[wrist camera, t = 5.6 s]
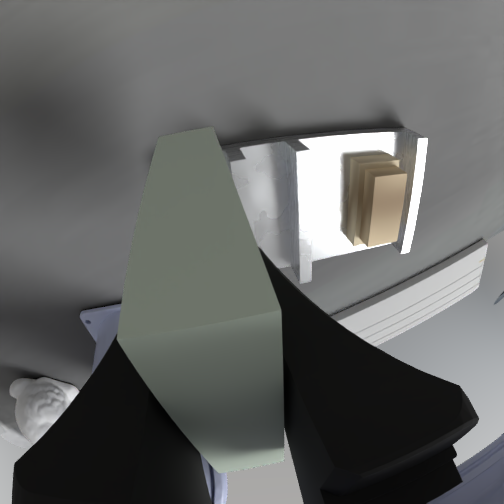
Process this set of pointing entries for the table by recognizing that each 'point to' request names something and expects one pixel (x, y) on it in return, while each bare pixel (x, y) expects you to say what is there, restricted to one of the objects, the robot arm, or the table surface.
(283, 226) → the rack
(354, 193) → the offcut lower
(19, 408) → the rabbit
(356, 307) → the white board
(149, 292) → the pale green rectangular block
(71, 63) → the table surface
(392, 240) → the offcut upper
